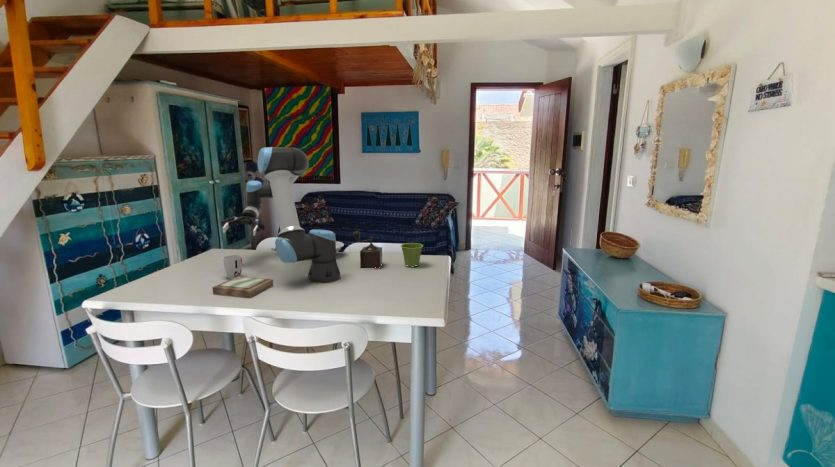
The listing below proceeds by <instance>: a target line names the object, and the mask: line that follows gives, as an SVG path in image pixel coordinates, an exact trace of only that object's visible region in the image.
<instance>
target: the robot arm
mask: <svg viewBox="0 0 835 467" xmlns="http://www.w3.org/2000/svg"><path fill="white" fill-rule="evenodd" d="M309 163H310V162H309V158H308V155H306V153H305V152H304V151H302V150H301V149H300V148H297V147H281V146H280V147H278V146H277V147H276V146H270V147H269V146H268V147H262V148H261V149H260V150H259V153H258V156H257V170H258V172H259V173H260V174H263V175H264V178H265V179H266V180H268V181H269V184H262V182H261V181H259V180H248V181H247V182H246V185H245V188H246V189H245V192H246V193H245V194H246V195H245V196H246V203H245V204H246V205H245V206H246V207H245V209H244V210H243V211H242V212H241V214H240V216H238V217H236V215H232V216H230V217H228V218H226V219H223V220H221V221H220V226H221V227H222V233H223V234H225V233H226V232H227V230H228V229H229V227H233V226H236V225H238V226H240V225H247V226H250V227H253V231H252V233H253V234H252V236H253V237H255V236H256V235H257V233H259V232H261V230H262V231H265V229H266V228H265V226H266V224H264V222H263V221H262V218H260V217H259V216H260V214H261V213H262V212H263V203H262V200H263V199H273V202H274V204H273V205H274V208H275V211H276V217H277V221H278V226H279V233H277V237H276V239H275V241H274V245H275V246H274V248H275V251H276V254H277V257H278V258H279V260H280V261H282V262H283V263H285V264H290V263H293V264H294V263H297V262H301V261H302V262H303V261H307V260H310V266H309V270H308V273H307V280H308V281H309V282H312V283H316V284H318V283H319V284H321V283H324V284H325V283H331V282H332V283H333V282H336V281H338V280H340V279H341V271H340V268H339V265H338V263H337V253H336V241H337V240H336V233H335V232H334V231H331V230H327V229H311V230H309V232H308V233H306V231H305V229H304V228H302V227H301V225H300V220H299V218H298V212H297V208H296V203H295V198H294V195H293V190H292V185H293V184H294V183H295V182H296V181H297V179H298V178H299V177H300V176H303V175H304V174H305V173H306V172H307V171H308V168H309V166H310V164H309ZM258 217H259V218H258Z"/></svg>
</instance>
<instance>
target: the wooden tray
mask: <svg viewBox="0 0 835 467" xmlns="http://www.w3.org/2000/svg"><path fill="white" fill-rule="evenodd" d="M273 286H274V279H272V278H263V277H261V278H260V277H251V276H241V275H240V276H237V277H235V278H233V279H229V280H226V281H224V282H222V283H219V284H217V285H215V286H212V287H211V288H212V294H213V295H217V296H227V297H236V298H237V297H238V298H245V299H246V298H248V299H252V298H254V297H255V296H257V295H260V294H261V293H262V292H264V291H266V290H268V289H270V288H271V287H273Z"/></svg>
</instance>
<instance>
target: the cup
mask: <svg viewBox="0 0 835 467" xmlns="http://www.w3.org/2000/svg"><path fill="white" fill-rule="evenodd" d="M222 260H223V266H224V270H225V273H226V276H227V278H228V279H229V280H230V279H233V278H235V277H237V276H241V275H242V269H243V268H242V267H243V256H242V255H241V254H235V255H234V254H230V255H225V256H223V257H222Z"/></svg>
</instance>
